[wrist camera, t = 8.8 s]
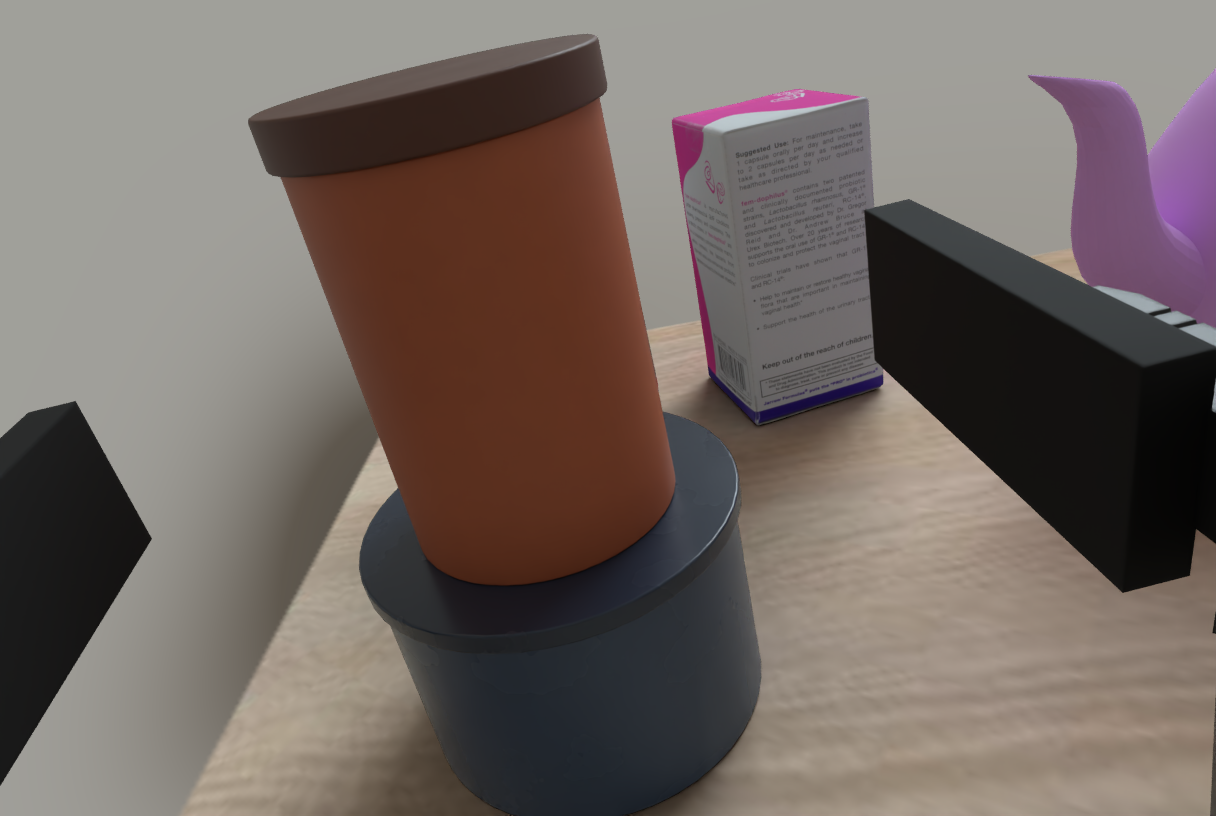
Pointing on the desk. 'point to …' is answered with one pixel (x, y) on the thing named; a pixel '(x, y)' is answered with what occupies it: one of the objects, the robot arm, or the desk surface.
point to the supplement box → (782, 247)
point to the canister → (486, 302)
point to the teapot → (1144, 195)
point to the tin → (585, 653)
